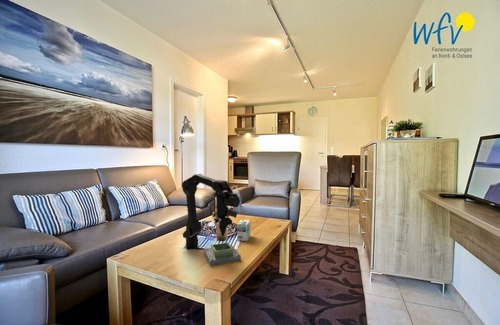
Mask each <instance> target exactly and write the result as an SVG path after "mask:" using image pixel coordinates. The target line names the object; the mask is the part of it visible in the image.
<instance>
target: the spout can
mask: <svg viewBox="0 0 500 325" xmlns="http://www.w3.org/2000/svg"><path fill="white" fill-rule="evenodd" d="M218 223H219V221H218V222H217V226H216V241H217V242H225V241H227V240H228V227H230V226H231V225H228V226H227V227H226V231H225V234H224V236H222V234H221V231H220V229H219V226H218Z"/></svg>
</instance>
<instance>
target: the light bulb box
mask: <svg viewBox="0 0 500 325" xmlns="http://www.w3.org/2000/svg"><path fill="white" fill-rule="evenodd" d="M236 225H237V233H236V234H237V235H236V236H237V238H236V239H237V241H240V240H241V242H247V241H248V240H249V239H250V237H251V220H250V219H240V220H239V221H238V223H237V224H236Z"/></svg>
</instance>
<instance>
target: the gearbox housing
mask: <svg viewBox="0 0 500 325" xmlns="http://www.w3.org/2000/svg"><path fill="white" fill-rule="evenodd" d="M203 254H204V257H205V258H206V261H207V262H208V265H209V267H213V266H218V265H224V264H230V263H235V262H241V261H242V256H241V254H240V253H239V252H238V251H237V249H236V248H235V247H234V246H233V244H230V243H229V242H221V243H214V244H210V247H205V248H203Z"/></svg>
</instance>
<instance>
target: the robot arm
mask: <svg viewBox="0 0 500 325" xmlns="http://www.w3.org/2000/svg"><path fill="white" fill-rule="evenodd" d="M200 184H202V185H205V186H207V187H209V188H211V189H212V190H213V191H214V193H213V194H212V196H213V197H214V196H215V198H216V199H215V206H214V207H215V209H216V210H215V211H213V212H212V213H211V217H212V218H213V221H214V222H215V225H216V227H217V222H218V221H219V223H218V226H219V229H220V231H221V234H222V236H224V234H225V231H226V227H227V228H228V227H229V226H228V225H230V226H232V225H233V220H232V219H231V218H230V217H232V218H235V219H237V216H238V214H239V213H238V211H237V210H235V209H234V208H238V207H239V206H240V204H241V199H240V197H239V196H238V193H234V192H233V190H232V188H231V187H230V185H229V182H228V181H227V180H223V179H215V178H214V179H213V178H212V177H210V176H205V175H203V174H201V173H198V174H197V173H196V174H195V173H194V174H193V175H192V176H191V177H189V178H187V179H185V180H183V181H182V183H181V189H182V192H183V193H184V195H185V196H186V197H185V199H186V208H187V222H186V224H185V226H186V227H185V230H184V231H183V232H182V237H183V238H184V239H185V249H186V250H189V249H197V248H198V247H199V237H198V236H200V234H201V232H202V229H203V228H202V222H201V221H199V220H198V217H197V216H198V214H197V202H196V192H197V190H198V186H199V185H200Z"/></svg>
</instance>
